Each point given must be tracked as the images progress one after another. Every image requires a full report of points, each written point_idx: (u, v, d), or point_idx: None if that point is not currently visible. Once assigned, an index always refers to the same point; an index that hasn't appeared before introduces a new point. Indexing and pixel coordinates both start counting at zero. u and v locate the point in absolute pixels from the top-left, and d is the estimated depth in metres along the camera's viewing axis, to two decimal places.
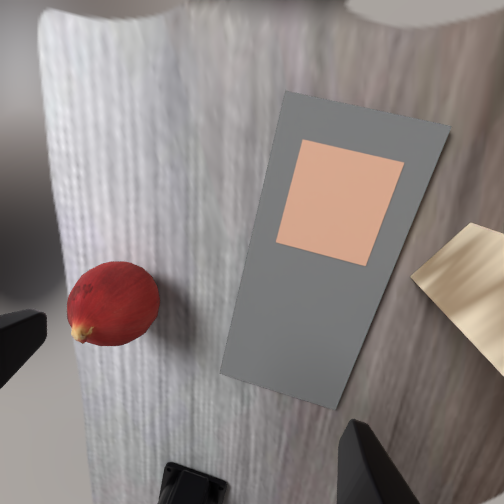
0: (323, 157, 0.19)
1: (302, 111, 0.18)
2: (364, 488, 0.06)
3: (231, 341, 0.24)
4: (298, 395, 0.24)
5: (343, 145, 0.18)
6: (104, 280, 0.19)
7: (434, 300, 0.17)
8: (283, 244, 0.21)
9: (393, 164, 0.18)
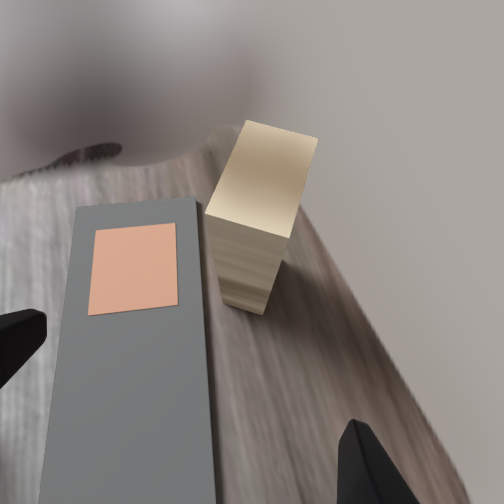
0: (115, 236, 0.24)
1: (92, 215, 0.25)
2: (364, 488, 0.06)
3: (48, 471, 0.17)
4: None
5: (128, 226, 0.24)
6: None
7: (220, 286, 0.19)
8: (96, 314, 0.21)
9: (168, 226, 0.24)
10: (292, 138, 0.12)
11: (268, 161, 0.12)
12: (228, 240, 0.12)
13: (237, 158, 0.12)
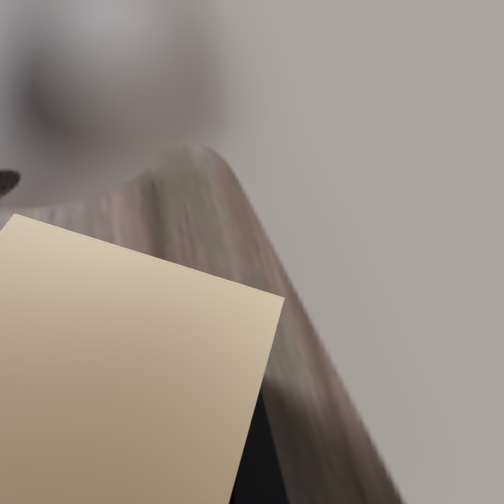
0: None
1: None
2: None
3: None
4: None
5: None
6: None
7: None
8: None
9: None
10: (179, 299, 0.03)
11: (31, 451, 0.02)
12: None
13: None
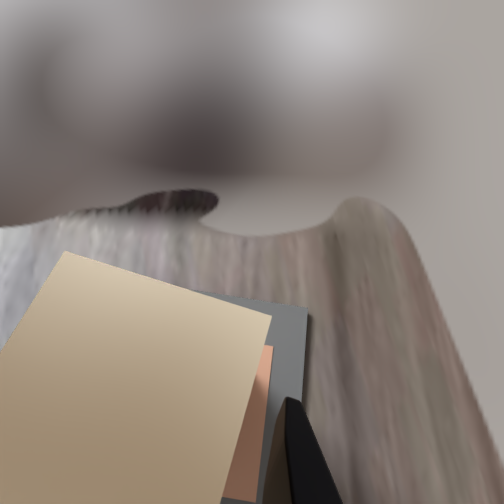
0: None
1: None
2: (281, 458, 0.06)
3: None
4: None
5: None
6: None
7: None
8: None
9: None
10: (193, 318, 0.04)
11: (91, 429, 0.03)
12: None
13: None
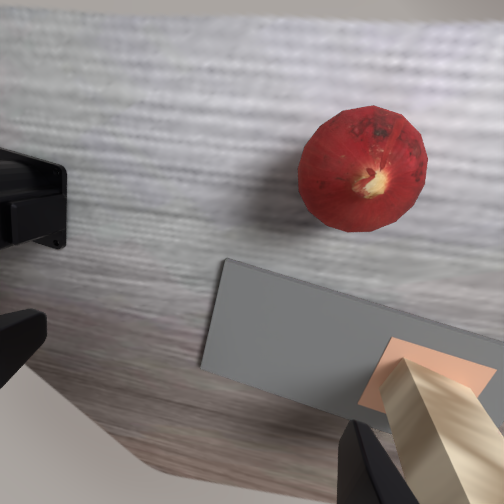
0: (473, 384, 0.20)
1: None
2: (364, 488, 0.06)
3: (269, 279, 0.20)
4: (210, 339, 0.23)
5: (478, 398, 0.20)
6: (419, 191, 0.13)
7: (425, 403, 0.17)
8: (388, 343, 0.20)
9: None
10: None
11: None
12: None
13: None
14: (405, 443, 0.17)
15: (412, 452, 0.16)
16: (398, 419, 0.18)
